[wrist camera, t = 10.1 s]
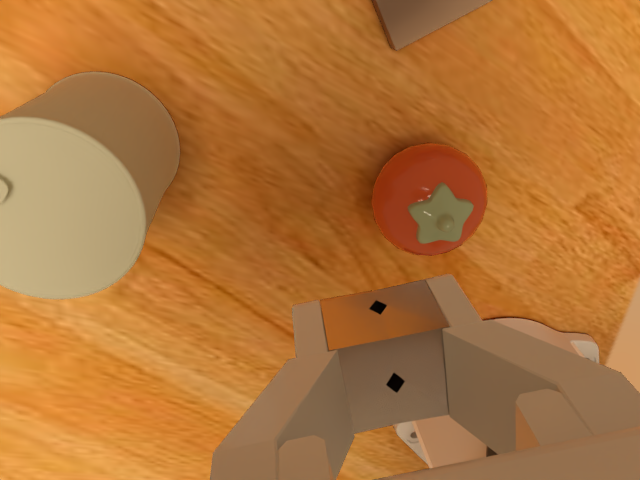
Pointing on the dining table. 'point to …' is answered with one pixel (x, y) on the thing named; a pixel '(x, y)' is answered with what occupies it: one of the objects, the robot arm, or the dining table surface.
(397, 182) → the tomato
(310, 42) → the dining table surface
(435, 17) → the stand board
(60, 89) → the can
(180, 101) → the dining table surface
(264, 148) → the dining table surface
